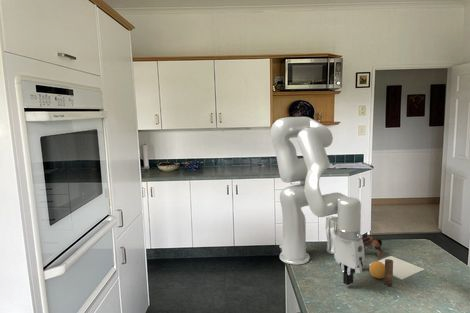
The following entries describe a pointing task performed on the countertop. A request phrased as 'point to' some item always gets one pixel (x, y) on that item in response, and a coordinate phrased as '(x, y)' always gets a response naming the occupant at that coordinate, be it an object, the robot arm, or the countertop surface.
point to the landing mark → (402, 268)
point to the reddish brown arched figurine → (376, 242)
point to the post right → (388, 273)
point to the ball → (377, 269)
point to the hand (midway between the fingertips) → (348, 283)
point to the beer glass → (331, 233)
